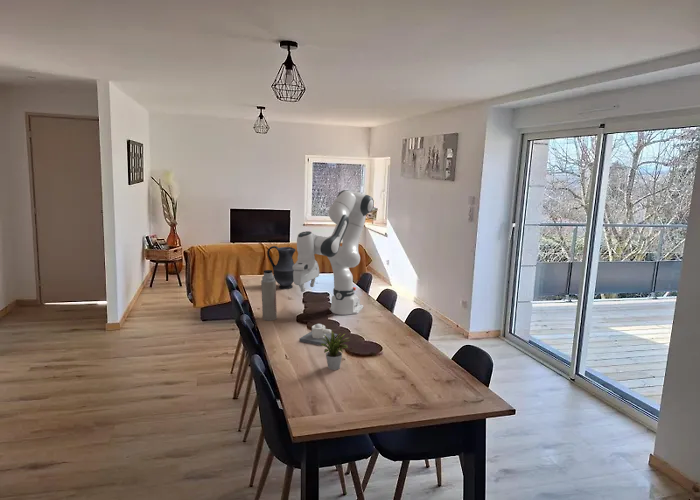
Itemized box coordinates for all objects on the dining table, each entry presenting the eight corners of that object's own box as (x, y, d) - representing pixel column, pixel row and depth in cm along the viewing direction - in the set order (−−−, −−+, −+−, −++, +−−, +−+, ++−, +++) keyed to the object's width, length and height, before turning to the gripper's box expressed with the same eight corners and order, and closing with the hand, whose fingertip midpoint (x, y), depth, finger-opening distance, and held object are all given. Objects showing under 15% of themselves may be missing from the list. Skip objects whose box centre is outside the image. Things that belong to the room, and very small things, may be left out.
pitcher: (296, 290, 337) (295, 248, 331) (266, 290, 337) (264, 248, 332) (299, 284, 354) (298, 243, 348) (270, 284, 354) (269, 243, 349)
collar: (309, 337, 243) (309, 327, 242) (316, 333, 248) (316, 323, 248) (327, 340, 238) (327, 330, 238) (333, 336, 244) (333, 326, 243)
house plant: (337, 378, 200) (337, 341, 197) (310, 371, 207) (310, 334, 204) (355, 366, 211) (355, 330, 209) (329, 359, 219) (329, 325, 216)
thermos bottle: (278, 316, 280) (277, 269, 275) (273, 320, 273) (272, 272, 268) (265, 315, 282) (264, 268, 277) (260, 320, 274) (258, 271, 269)
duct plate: (314, 332, 254) (313, 318, 252) (337, 336, 247) (337, 322, 246) (299, 341, 241) (299, 326, 240) (323, 345, 235) (323, 331, 234)
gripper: (311, 258, 260) (312, 283, 263) (290, 267, 242) (292, 293, 245) (321, 259, 258) (322, 284, 260) (301, 268, 240) (302, 295, 242)
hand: (307, 289), depth 253 cm, fingers open, 8 cm apart
